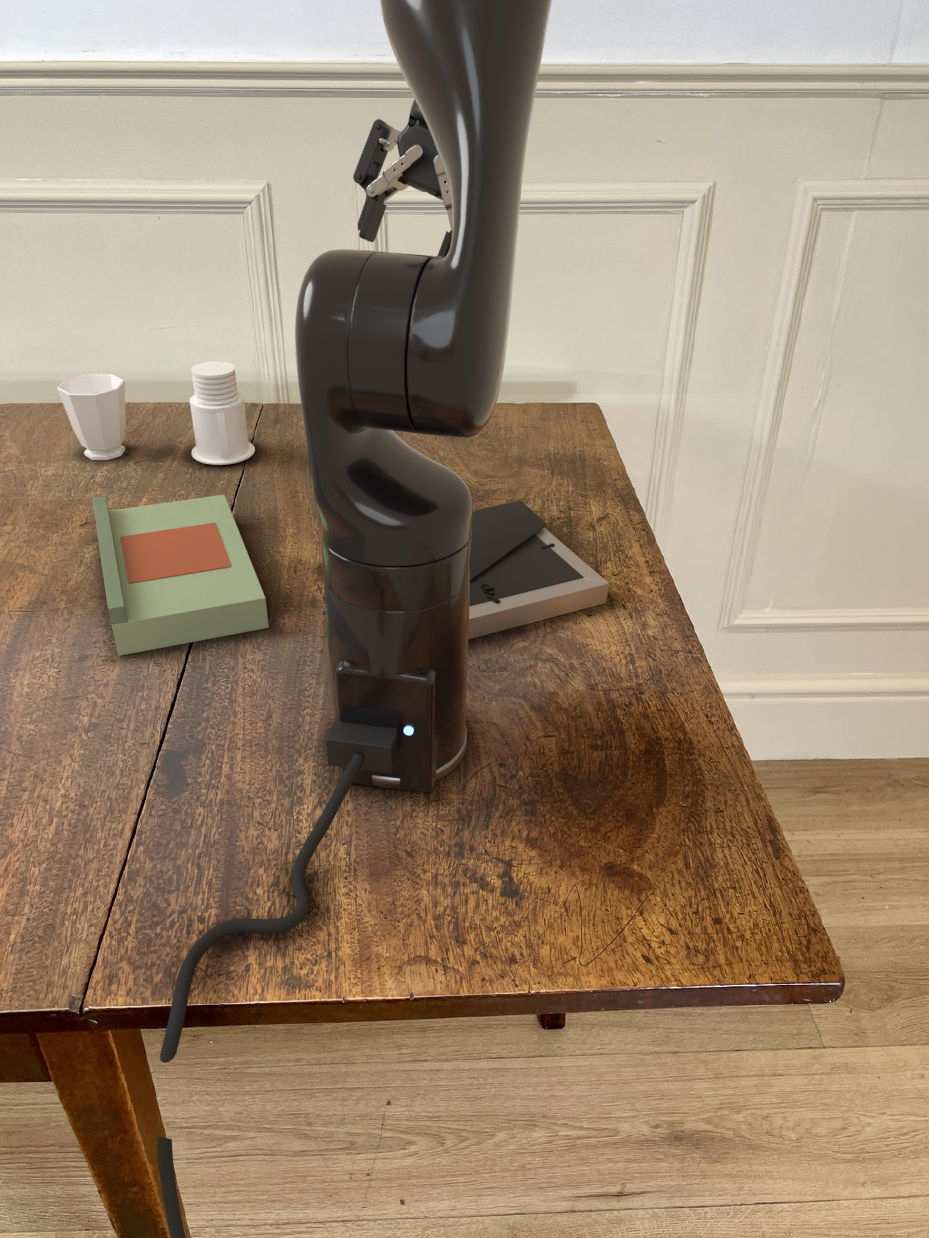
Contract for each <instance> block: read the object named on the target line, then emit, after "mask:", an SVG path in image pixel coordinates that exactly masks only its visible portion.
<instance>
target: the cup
mask: <svg viewBox="0 0 929 1238" xmlns="http://www.w3.org/2000/svg"><path fill="white" fill-rule="evenodd" d="M56 390H57V392H58V396H59V398H60V399H61V402H62V405H63V407H64V409H65V412H66V414H67V416H68V421H69V423H70V425H71V428H72V430H73V432H74V434H75V436H76V439H77V440H78V441H79V443H80V445H81V446H82V447H83V448H85V450H84V451H83V454H84V456H85V457H87V458H89V459H90V460H92V461H109V460H112V459H116V458H119V457H121V456H122V455H123V454H124V452H125V451H126V446H124V445H122V444H123V443H124V441H125V437H126V424H127V416H126V415H127V414H126V380H125V379H123V378H121V377H120V376H119V377H118V376H116V375H114V374H113V373H86V374H81V375H77V376H73V377H69V378H66V379H64V380H63V381H62V382H61V383H60V384H59V385H58V387H57V388H56Z"/></svg>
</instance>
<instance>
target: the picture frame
mask: <svg viewBox="0 0 929 1238" xmlns="http://www.w3.org/2000/svg"><path fill="white" fill-rule="evenodd" d="M545 527H547V523H546V522H545V520H543V519H542V518H541V517H540V516H539V515H538V514H536V512H534V511H533V510H532V509H531V508H530V507H529V506H528V505H526V503H525V502H523V501H522V500H517V501H511V502H508V503H503V504H497V505H494V506H488V507H483V508H478V509H475V510H474V511H473V524H472V547H471V574H470V603H469V635H468V641H469V640H473V639H476V638H479V637H484V636H488V635H491V634H495V633H498V632H503V631H507V630H509V629H513V628H517V627H518V628H519V627H521V626H525V625H528V624H534V623H537V622H540V621H543V620H549V619H551V618H555V617H559V616H562V615H566V614H570V613H575V612H579V611H581V610H584V609H589V608H593V607H596V606H601V605H603V604H607V603H608V602H607V601H608V594H609V587H610V586H609V585H610V582H608V581H607V580H606V579H605V578H603V577H602V576H601V575H600V574H599V573H598V572H597V571H595V569H593V568H592V567H591V566H589V564H587V562H585V561H584V560H583V559H581V557H579V556H578V555H577V554H576V553H574V552H573V551H572V550H571V549H570V548H568V547H567V545H565V544H564V543H563V542H562V541H560V540H559V539H558V538H557V537H556V536H555V535H554V534H552V533H551V532H550V531H549V530H548V529H547V528H545ZM321 559H322V562H323V557H322V556H321Z"/></svg>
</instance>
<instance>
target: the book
mask: <svg viewBox="0 0 929 1238" xmlns="http://www.w3.org/2000/svg"><path fill="white" fill-rule="evenodd" d="M92 505H93V512H94V520H95V526H96V533H97V540H98V548H99V554H100V563H101V568H102V576H103V585H104V590H105V597H106V604H107V611H108V615H109V621H110V624H111V628H112V633H113V637H114V643H115V647H116V652H117V656H118V657H121V656H125V655H131V654H136V653H141V652H142V653H143V652H147V651H152V650H157V649H162V648H168V647H174V646H179V645H184V644H189V643H196V642H199V641H205V640H211V639H217V638H222V637H226V636H232V635H237V634H238V635H239V634H244V633H248V632H253V631H254V632H255V631H259V630H264V629H268V628H270V627H269V617H268V607H267V600H266V599H267V598H266V596H265V592H264V590H263V588H262V586H261V582H260V581H259V578H258V576H257V573H256V571H255V568H254V565H253V563H252V561H251V558H250V556H249V552H248V550H247V548H246V545H245V543H244V541H243V538H242V535H241V533H240V530H239V527H238V526H237V523H236V520H235V518H234V515H233V512H232V509H231V508H230V505H229V502H228V500H227V497H226V494H216V495H210V496H204V497H203V496H202V497H196V498H189V499H182V500H174V501H168V502H160V503H153V504H147V505H140V506H132V507H126V508H125V507H123V508H120V509H112V510H111V509H110V510H109V505H108V500H107V496H99V497H98V496H97V497H92Z"/></svg>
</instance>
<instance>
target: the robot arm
mask: <svg viewBox="0 0 929 1238" xmlns="http://www.w3.org/2000/svg"><path fill="white" fill-rule="evenodd" d="M552 2H553V0H379V6H380V11H381V12H380V13H381V17H382V20H383V24H384V25H383V26H384V28H385V33H386V36H387V38H388V42H389V44H390V47H391V50H392V52H393V55H394V57H395V59H396V62H397V64H398V67H399V69H400V72H401V73H402V76H403V78H404V80H405V82H406V84H407V86H408V89H409V91H410V93H411V95H412V97H413V102H412V103H411V107H410V110H409V117H408V122H407V124H406V126H405V127H404V128H403V129H402V130H401V131H400V130H398V129H396V128H394V127H393V126H391V124H388V123H387V122H386V121H384V120H382V119H380V118H377V119H376V120H374V121H373V123H372V125H371V127H370V131H369V134H368V136H367V138H366V142H365V144H364V147H363V149H362V152H361V154H360V157H359V160H358V161H357V165H356V167H355V170H354V172H353V176H352V179H353V181H354V183H356V184H357V185H358V186H360V188H362V190H364V192H365V200H364V204H363V206H362V210H361V212H360V216H359V219H358V221H357V231H359V233H358V237H359V238H360V239H363V240H365V241H367V242H370V243H374V242H375V240H376V238H377V236H378V233H379V230H380V228H381V227H380V226H381V223H382V220H383V217H384V216H385V211H386V208H387V207H388V206H387V204H386V203H385V202H387V201H388V200H389V199H391V198H392V197H393V196H395V195H396V194H397V193H398V192H402V191H405V190H406V189H408V188H409V187H411V188H413V189H415V190H417V191H420V192H422V193H427V194H429V195H430V196H432V197H435V198H436V199H439V200H441V201H442V203H443V206H444V208H445V210H446V212H447V217H448V222H449V226H450V227H449V228H450V231H447V230H446V231H445V234H444V237H443V239H442V242H441V245H440V247H439V250H438V253H437V255H435V256H434V255H424V254H414V253H401V252H389V251H375V250H365V249H353V248H352V249H349V248H348V249H346V248H339V249H338V248H337V249H329V250H327V251H324V252H323V253H321V254H319V255H318V256H317V257H316V258H315V259H313V261H312V262H311V263H310V264H309V267H308V268H307V270H306V272H305V274H304V276H303V279H302V281H301V285H300V288H299V291H298V296H297V300H296V301H297V302H296V308H295V309H296V310H295V320H294V351H295V365H296V373H297V383H298V391H299V397H300V405H301V412H302V419H303V426H304V433H305V441H306V442H305V443H306V450H307V457H308V465H309V466H308V468H309V478H310V479H309V480H310V488H311V494H312V498H313V503H314V505H315V508H316V511H317V514H318V519H319V520H318V521H319V529H320V530H319V532H320V540H321V541H320V542H321V543H320V544H321V558H322V557H323V561H322V571H323V586H324V587H323V588H324V589H323V590H324V604H325V617H326V618H325V620H326V635H327V649H328V650H327V651H328V664H329V665H328V666H329V679H330V680H329V681H330V694H331V695H330V697H331V707H332V719H333V721H332V724H331V727H330V728H329V731H328V734H327V736H326V739H325V742H326V743H325V745H326V757H327V759H326V760H327V766H329V767H336V768H337V767H338V768H341V777H340V778H339V781H338V782H337V784H336V786H335V788H334V790H333V792H332V794H331V796H330V798H329V799H328V801H327V803H326V805H325V807H324V809H323V810H322V813H321V815H320V816H319V818H318V820H317V822H316V823H315V825H314V827H313V829H312V830H311V832H310V833H309V835H308V836H307V838H306V840H305V841H304V843H303V845H302V846H301V849H300V851H299V852H298V855H297V857H296V859H295V862H294V864H293V867H292V870H291V871H292V872H291V878H290V879H291V880H290V881H291V887H292V892H293V895H294V899H295V902H296V906H295V909H293V911H291V912H290V913H289V914H287V915H285V916H283V917H278V918H271V919H270V918H235V919H233V918H232V919H227V920H225V921H222V922H220V923H218V924H216V925H214V926H213V927H211V928H209V929H208V930H207V931H206V932H205V933H203V935H201V937H199V938H198V939H197V940H196V942H195V943H193V944H192V946H191V948H190V949H189V950H188V952H187V954H186V956H185V957H184V959H183V961H182V963H181V966H180V968H179V971H178V974H177V977H176V981H175V987H174V991H173V996H172V1002H171V1006H170V1010H169V1011H170V1012H169V1015H168V1016H169V1017H168V1020H167V1025H166V1028H165V1033H164V1036H163V1040H162V1045H161V1049H160V1054H159V1061H160V1062H162V1064H164V1063H165V1064H166V1063H169V1062H171V1061H173V1059H174V1058H175V1056H176V1055H177V1052H178V1047H179V1044H180V1039H181V1035H182V1032H183V1027H184V1024H185V1019H186V1013H187V1008H188V1003H189V999H190V998H189V996H190V993H191V987H192V981H193V978H194V974H195V972H196V968H197V966H198V964H199V962H200V960H201V959H202V958H203V956H204V955H205V953H207V951H209V949H210V948H211V947H213V946H214V945H215V944H216V943H217V942H218V941H220V940H221V939H223V938H224V937H228V936H230V935H234V934H261V935H262V934H265V935H266V934H269V935H270V934H279V933H284V932H288V931H290V930H292V929H294V928H296V927H297V926H298V925H300V924H301V923H302V922H303V921H304V920H305V918H307V915H308V913H309V911H310V908H311V901H310V895H309V893H308V889H307V887H306V883H305V881H306V880H305V876H306V872H307V869H308V866H309V864H310V861H311V859H312V857H313V855H314V853H315V851H316V850H317V848H318V846H319V845H320V843H321V842H322V840H323V839H324V837H325V835H326V833H327V832H328V830H329V829H330V826H331V825H332V823H333V821H334V819H335V817H336V815H337V813H338V811H339V810H340V808H341V805H342V804H343V801H344V800H345V798H346V796H347V794H348V792H349V790H350V788H351V787H352V784H357V785H363V786H370V787H371V786H372V787H378V788H385V789H394V790H404V791H412V792H419V793H426V794H427V793H428V794H429V793H432V792H433V790H434V786H435V784H436V782H437V781H439V780H441V779H443V778H445V777H446V776H447V775H449V774H451V773H452V772H453V771H454V770H455V769H456V768H457V767H458V766H459V765H460V763H461V762H462V761H463V759H464V757H465V754H466V751H467V745H468V729H467V706H468V705H467V704H468V701H467V698H468V667H469V666H468V665H469V664H468V663H469V640H468V635H469V603H470V574H471V547H472V524H473V513H474V504H473V496H472V493H471V490H470V488H469V486H468V485H467V483H466V481H465V480H464V479H463V478H462V477H461V476H460V475H459V474H458V473H456V472H455V471H454V470H452V468H451V469H450V468H449V467H448V466H446V465H444V464H442V463H440V462H438V461H436V460H435V459H433V458H430V457H429V456H427V455H425V454H423V453H421V452H420V451H418V450H416V449H415V448H414V447H413V446H411V445H409V444H408V443H407V442H405V441H404V440H403V439H402V438H401V437H400V436H399V435H398V434H397V433H396V432H401V433H402V432H403V433H411V434H419V435H425V436H435V437H445V438H456V439H460V438H464V439H465V438H472V437H475V436H476V435H479V433H481V432H482V431H483V430H484V428H486V426H487V424H488V423H489V421H490V419H491V417H492V416H493V413H494V410H495V408H496V405H497V401H498V398H499V396H500V390H501V387H502V383H503V377H504V369H505V364H506V356H507V347H508V337H509V329H510V328H509V327H510V319H511V309H512V297H513V287H514V286H513V285H514V276H515V264H516V255H517V254H516V253H517V242H518V231H519V221H520V220H519V219H520V211H521V200H522V199H521V198H522V187H523V178H524V169H525V160H526V153H527V146H528V140H529V132H530V126H531V121H532V116H533V115H532V113H533V110H534V109H533V108H534V102H535V98H536V91H537V86H538V80H539V73H540V69H541V64H542V57H543V52H544V46H545V41H546V35H547V30H548V26H549V25H548V24H549V20H550V13H551V9H552V8H551V7H552V4H553V3H552ZM395 146H397V150H398V156H399V158H398V159H397V160H395V161H394V162H393V163H391V164H390V165H389V166H387V167H386V168H385V169H383V171H382V168H383V165H384V164H385V160H386V158H387V156H388V153H389V152H392V151H393V150H394V149H395ZM381 171H382V174H381ZM380 174H381V175H380ZM156 1145H157V1147H156V1148H157V1160H158V1171H159V1179H160V1186H161V1193H162V1200H163V1205H164V1211H165V1212H164V1213H165V1216H166V1222H167V1228H168V1232H169V1235H170V1238H187V1237H186V1232H185V1228H184V1227H185V1226H184V1223H183V1219H182V1213H181V1209H180V1208H181V1206H180V1202H179V1196H178V1189H177V1183H176V1174H175V1173H176V1172H175V1166H174V1153H173V1151H174V1150H173V1139H172V1138H168V1137H163V1136H156Z"/></svg>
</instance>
